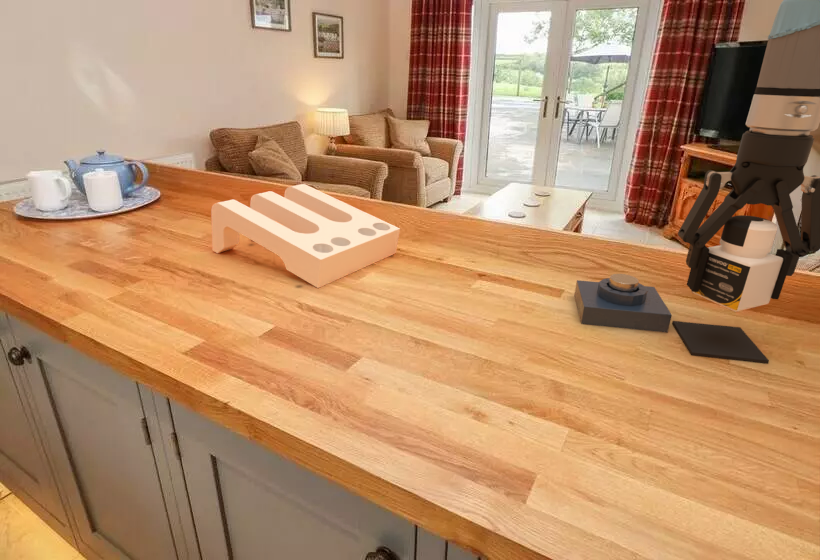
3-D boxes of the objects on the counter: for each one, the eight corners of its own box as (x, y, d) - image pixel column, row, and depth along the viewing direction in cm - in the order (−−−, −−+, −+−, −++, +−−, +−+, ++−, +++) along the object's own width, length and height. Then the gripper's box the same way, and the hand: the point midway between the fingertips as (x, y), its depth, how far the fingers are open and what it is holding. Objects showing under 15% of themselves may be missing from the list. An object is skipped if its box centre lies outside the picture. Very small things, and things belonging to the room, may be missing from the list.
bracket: (320, 259, 88) (210, 199, 102) (315, 314, 94) (212, 250, 108) (400, 228, 106) (297, 180, 120) (391, 276, 112) (294, 225, 126)
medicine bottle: (690, 292, 73) (710, 214, 68) (722, 285, 76) (744, 209, 71) (735, 313, 67) (761, 228, 62) (769, 304, 70) (797, 223, 65)
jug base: (650, 303, 87) (656, 277, 85) (667, 333, 77) (674, 304, 75) (574, 296, 89) (578, 270, 87) (581, 324, 79) (585, 296, 77)
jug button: (633, 284, 83) (635, 274, 82) (639, 295, 79) (641, 285, 78) (606, 282, 83) (608, 272, 83) (610, 292, 79) (612, 282, 79)
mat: (739, 330, 78) (740, 327, 78) (768, 364, 69) (769, 360, 69) (671, 323, 80) (672, 320, 79) (691, 355, 71) (692, 352, 70)
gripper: (693, 131, 61) (655, 294, 70) (901, 138, 57) (833, 311, 66) (675, 125, 68) (643, 275, 76) (861, 131, 64) (803, 288, 72)
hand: (730, 291), depth 71 cm, fingers closed on medicine bottle, 10 cm apart
